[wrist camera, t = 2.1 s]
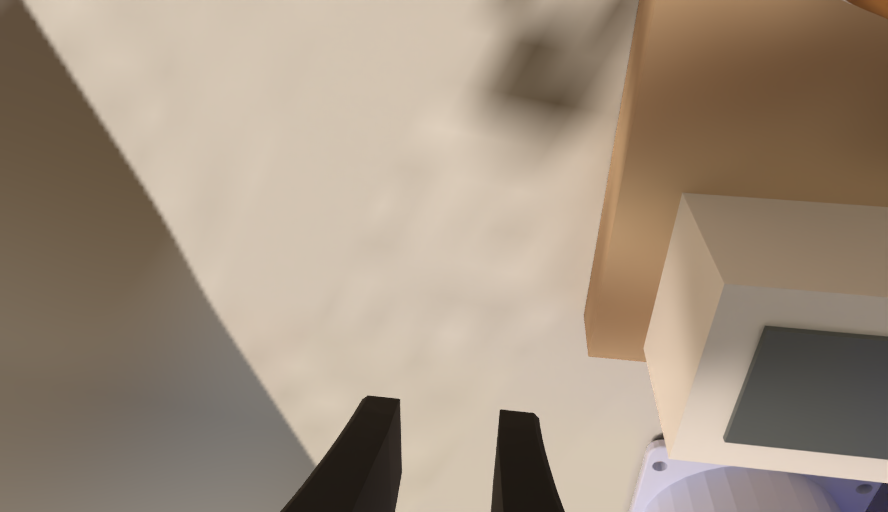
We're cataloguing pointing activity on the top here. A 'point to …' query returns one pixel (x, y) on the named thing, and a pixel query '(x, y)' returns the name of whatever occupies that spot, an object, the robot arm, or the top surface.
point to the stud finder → (774, 336)
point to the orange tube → (872, 6)
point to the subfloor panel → (732, 132)
